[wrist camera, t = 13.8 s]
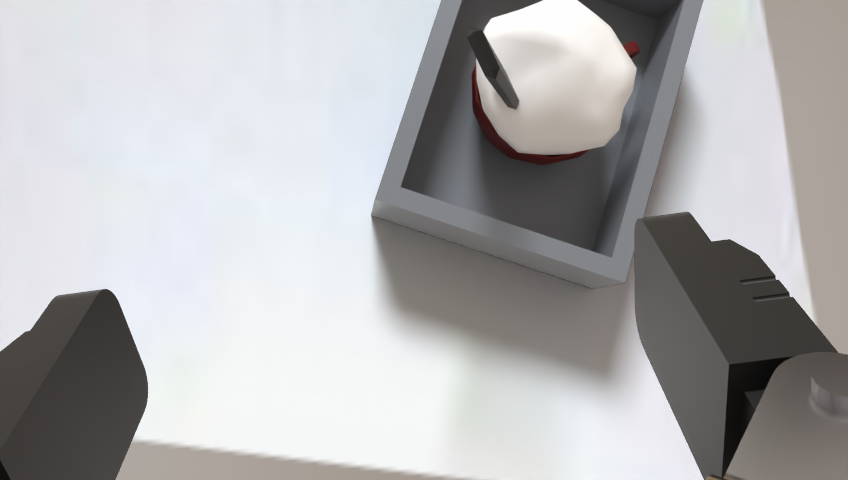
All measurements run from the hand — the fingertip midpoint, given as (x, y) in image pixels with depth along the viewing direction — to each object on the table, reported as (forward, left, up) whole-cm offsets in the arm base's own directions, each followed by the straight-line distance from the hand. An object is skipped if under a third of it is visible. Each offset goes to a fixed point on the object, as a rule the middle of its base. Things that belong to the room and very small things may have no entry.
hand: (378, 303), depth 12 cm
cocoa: (+4, +12, -21) cm, 25 cm away
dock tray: (+5, +12, -22) cm, 26 cm away
